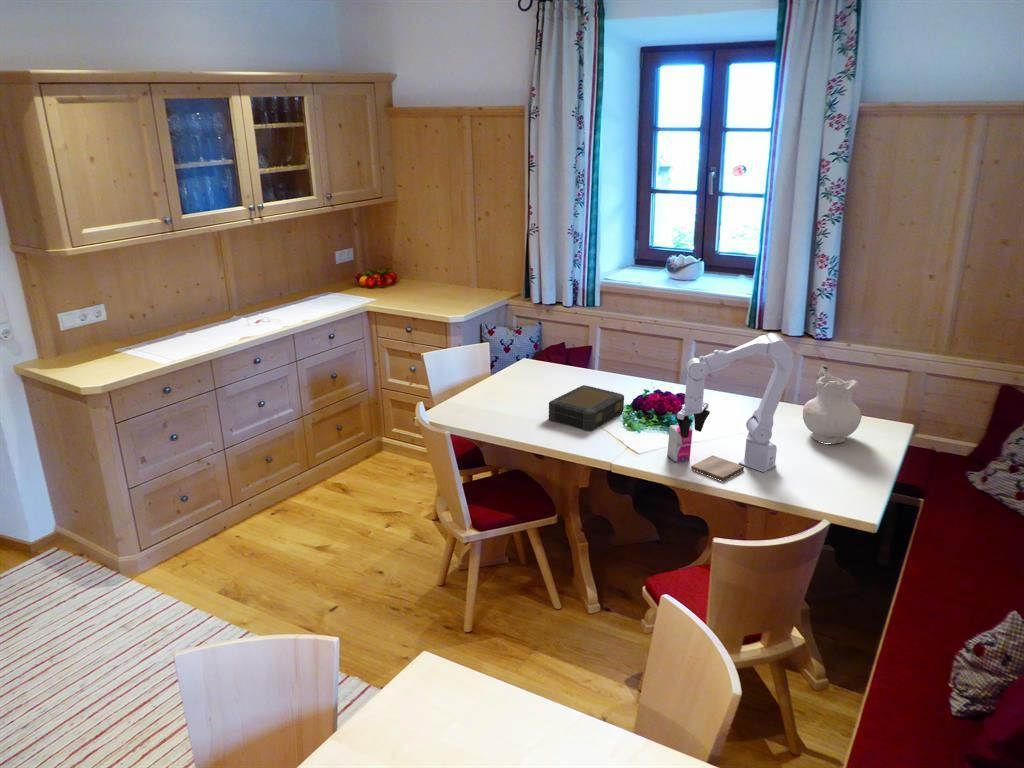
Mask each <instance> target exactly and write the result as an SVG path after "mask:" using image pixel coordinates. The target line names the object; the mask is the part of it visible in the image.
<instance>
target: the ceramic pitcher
mask: <svg viewBox="0 0 1024 768" xmlns="http://www.w3.org/2000/svg"><path fill="white" fill-rule="evenodd" d="M817 375H818V376H817V381H816V383H815V386H816V389H817V394H816V396H815V397H814V398H811V399H810V400H808V401H806V403H804V406H803V408H802V419H803V423H804V424H805V426H806V428H807V430H809V431H810V432H811V433H810V435H811V436H810V437H811V438H812V439H813V440H815V441H816V440H818V441H820V442H823V443H831V444H834V445H836V443H837V444H840V443H844V442H845V441H846V440H845V439H846V437H849V436H851V435H852V434H853V433H854V432H855V431H856V430H858V428H859V425H860V424H861V421H862V415H863V414H862V412H861V409H860V408H859V406H858V405H856V404H855V403H854V402H853V399H852V398H853V394H854V392H855V391H856V390H857V388H858V386H859V381H857V380H856V379H852V380H847V381H845V380H844V379H842V378H841V377H838V376H833V375H832V374H831V372H830V366H828V365H826V364H825V363H824V364H823V363H822V364H821V365H820V369H819V371H818V374H817ZM844 440H845V441H844ZM818 441H817V442H818ZM820 442H819V443H820Z"/></svg>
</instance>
